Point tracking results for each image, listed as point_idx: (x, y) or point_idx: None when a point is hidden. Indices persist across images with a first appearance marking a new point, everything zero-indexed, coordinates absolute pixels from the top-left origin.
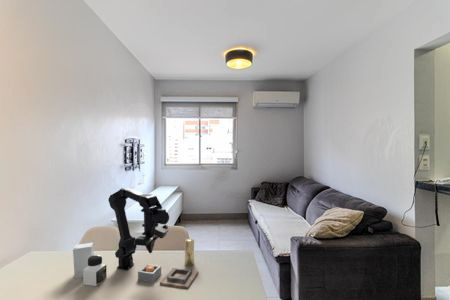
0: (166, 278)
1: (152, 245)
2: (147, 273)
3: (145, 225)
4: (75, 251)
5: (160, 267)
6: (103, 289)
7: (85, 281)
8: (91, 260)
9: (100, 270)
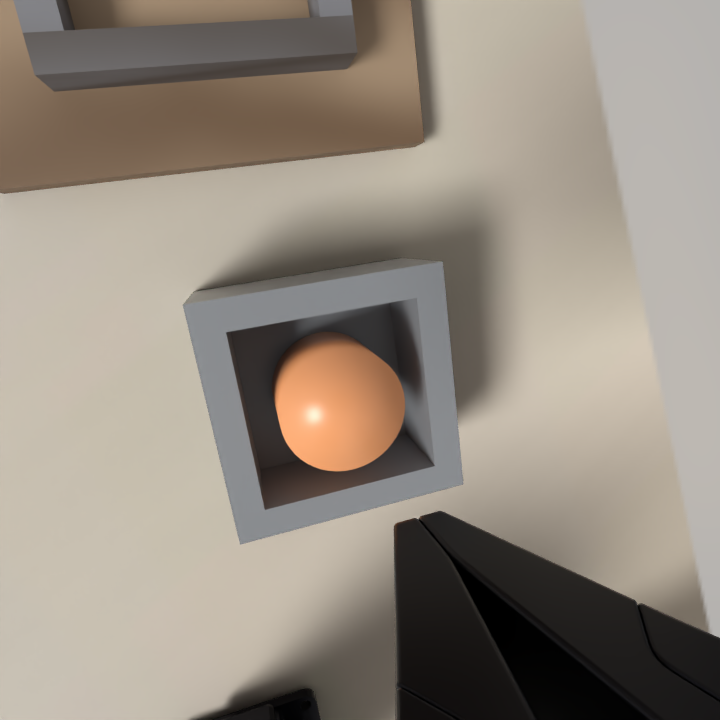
0: (312, 104)
1: (522, 695)
2: (447, 348)
3: None
4: None
5: (211, 297)
6: (624, 573)
7: None
8: None
9: None
